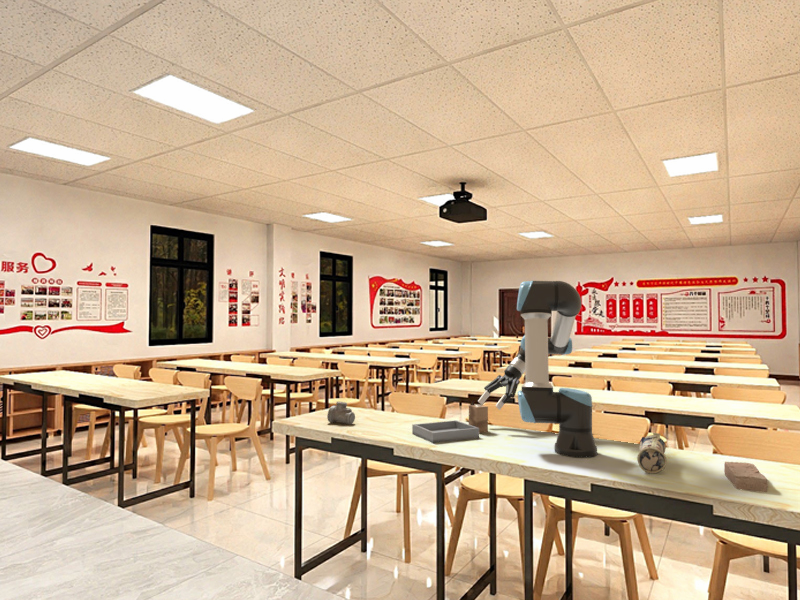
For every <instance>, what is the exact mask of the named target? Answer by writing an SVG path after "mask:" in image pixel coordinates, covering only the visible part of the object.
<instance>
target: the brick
mask: <svg viewBox="0 0 800 600" xmlns="http://www.w3.org/2000/svg"><path fill="white" fill-rule="evenodd" d="M723 469H724V470H723V472H724V473H723V474H724V475H725V477H726V478H727V480H728V481H730V483H731V484H732V485H733V486H734V488H736V489H737V490H740V489H742V490H743V491H751V492H758V493H768V488H769V485H768V478H767V477H766V476H765V475H764V474H763V473H761V472H760V470H759V469H758V468H757V466H755V464H753V463H750V462H742V461H740V462H739V461H735V462H734V461H724V468H723ZM742 490H741V491H742Z"/></svg>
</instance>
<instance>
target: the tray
mask: <svg viewBox="0 0 800 600" xmlns="http://www.w3.org/2000/svg"><path fill="white" fill-rule="evenodd" d="M411 426H412V428H411V429H412V432H411V434H412V435H414V436H416V437H419V438H421V439H423V440H425V441H427V442H430V443H432V444H434V443H435V444H436V443H437V444H438V443H446V442H454V441H465V440H472V439H479V438H480V433H479V428H478V427H475V426H472V425H469V423H465V422H462V421H460V420H445V421H435V422H424V423H414V424H413V423H412V425H411Z"/></svg>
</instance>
